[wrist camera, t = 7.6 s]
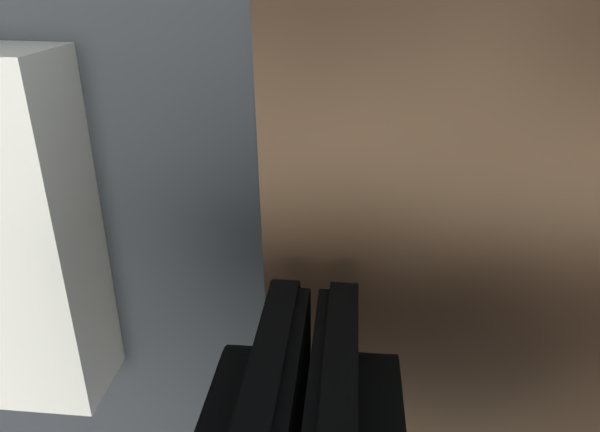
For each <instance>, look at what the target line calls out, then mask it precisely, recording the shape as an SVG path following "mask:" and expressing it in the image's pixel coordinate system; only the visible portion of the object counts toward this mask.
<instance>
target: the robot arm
mask: <svg viewBox="0 0 600 432" xmlns="http://www.w3.org/2000/svg"><path fill="white" fill-rule="evenodd" d="M358 292H359V286H358V283H351V282H330V289H319V292H318V300H317V308H316V316H315V324H314V332H313V340H312V348H311V289H310V288H301V285H300V280H285V279H271V282H270V285H269V289H268V292H267V296H266V300H265V303H264V307H263V310H262V314H261V317H260V321H259V324H258V328H257V332H256V335H255V339H254V342H253V346H245V345H226V346H225V347H224V349H223V351H222V354H221V357H220V360H219V362H218V365H217V368H216V371H215V374H214V377H213V379H212V382H211V385H210V388H209V391H208V393H207V396H206V399H205V402H204V405H203V408H202V410H201V413H200V416H199V419H198V422H197V424H196V427H195V430H194V432H407V430H406V420H405V411H404V401H403V391H402V381H401V372H400V362H399V356H398V354H382V353H365V352H358Z"/></svg>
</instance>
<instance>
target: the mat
mask: <svg viewBox="0 0 600 432" xmlns="http://www.w3.org/2000/svg"><path fill="white" fill-rule="evenodd" d="M0 40H15V41H52V42H74V44H75V50H76V56H77V62H78V69H79V75H80V81H81V87H82V94H83V100H84V106H85V112H86V118H87V125H88V131H89V137H90V143H91V150H92V156H93V162H94V168H95V175H96V181H97V187H98V193H99V199H100V206H101V212H102V218H103V224H104V231H105V237H106V243H107V249H108V255H109V262H110V268H111V274H112V280H113V287H114V293H115V299H116V305H117V311H118V318H119V324H120V330H121V336H122V343H123V349H124V355H125V360H124V361H123V363H122V365H121V367H120V368H119V370H118V372H117V374H116V375H115V377H114V379H113V381H112V382H111V384H110V386H109V388H108V389H107V391H106V393H105V395H104V396H103V398H102V400H101V402H100V403H99V405H98V407H97V408H96V410H95V412H94V414H93V415H92V417H90V416H77V415H65V414H52V413H39V412H26V411H13V410H0V432H194V430H195V427H196V424H197V422H198V419H199V416H200V413H201V410H202V408H203V405H204V402H205V399H206V396H207V393H208V391H209V388H210V385H211V382H212V379H213V377H214V374H215V371H216V368H217V365H218V362H219V360H220V357H221V354H222V351H223V349H224V347H225V346H226V345H245V346H253V342H254V339H255V335H256V332H257V328H258V324H259V321H260V317H261V314H262V310H263V307H264V303H265V287H264V267H263V247H262V228H261V208H260V188H259V169H258V149H257V129H256V109H255V90H254V70H253V50H252V31H251V11H250V0H0Z"/></svg>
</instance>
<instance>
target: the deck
mask: <svg viewBox="0 0 600 432" xmlns="http://www.w3.org/2000/svg"><path fill="white" fill-rule="evenodd" d="M250 11H251V31H252V50H253V70H254V90H255V109H256V129H257V149H258V169H259V188H260V208H261V228H262V247H263V267H264V287H265V300H266V296H267V292H268V289H269V285H270V282H271V279H285V280H300V285H301V288H310V289H311V348H312V340H313V332H314V324H315V316H316V308H317V300H318V292H319V289H330V282H351V283H358V286H359V292H358V352H365V353H382V354H398V356H399V362H400V372H401V381H402V391H403V401H404V411H405V420H406V430H407V432H600V0H250Z"/></svg>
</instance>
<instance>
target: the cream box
mask: <svg viewBox="0 0 600 432" xmlns="http://www.w3.org/2000/svg"><path fill="white" fill-rule="evenodd" d="M124 360H125V355H124V349H123V343H122V336H121V330H120V324H119V318H118V311H117V305H116V299H115V293H114V287H113V280H112V274H111V268H110V262H109V255H108V249H107V243H106V237H105V231H104V224H103V218H102V212H101V206H100V199H99V193H98V187H97V181H96V175H95V168H94V162H93V156H92V150H91V143H90V137H89V131H88V125H87V118H86V112H85V106H84V100H83V94H82V87H81V81H80V75H79V69H78V62H77V56H76V50H75V44H74V42H52V41H15V40H0V410H13V411H26V412H39V413H52V414H65V415H77V416H90V417H92V415H93V414H94V412H95V410H96V408H97V407H98V405H99V403H100V402H101V400H102V398H103V396H104V395H105V393H106V391H107V389H108V388H109V386H110V384H111V382H112V381H113V379H114V377H115V375H116V374H117V372H118V370H119V368H120V367H121V365H122V363H123V361H124Z"/></svg>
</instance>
